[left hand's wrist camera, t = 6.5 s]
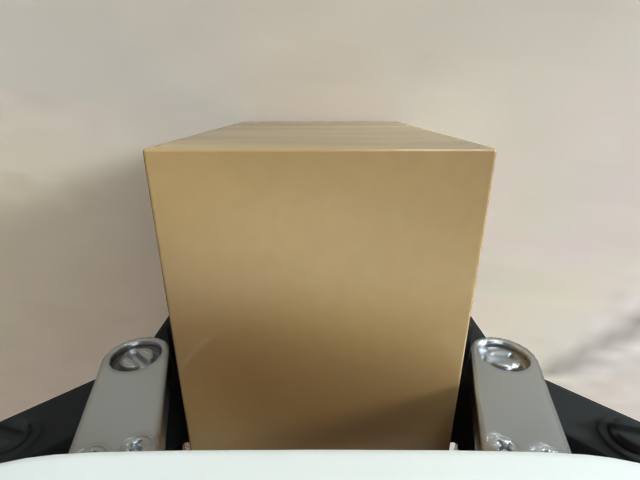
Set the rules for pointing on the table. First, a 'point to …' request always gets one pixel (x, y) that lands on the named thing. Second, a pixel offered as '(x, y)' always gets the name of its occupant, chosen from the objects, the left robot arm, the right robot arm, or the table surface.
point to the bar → (319, 280)
